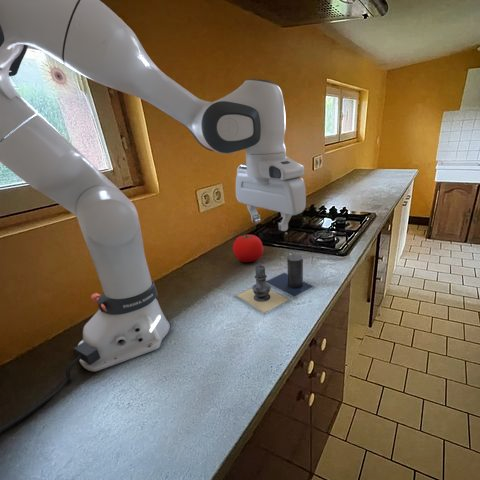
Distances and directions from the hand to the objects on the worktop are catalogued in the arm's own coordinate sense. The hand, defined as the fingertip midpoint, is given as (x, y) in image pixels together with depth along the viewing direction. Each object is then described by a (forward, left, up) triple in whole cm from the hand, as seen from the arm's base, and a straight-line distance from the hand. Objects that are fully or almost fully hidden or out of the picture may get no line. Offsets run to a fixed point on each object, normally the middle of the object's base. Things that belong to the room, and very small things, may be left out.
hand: (269, 226), depth 73 cm
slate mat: (+16, +10, -27) cm, 33 cm away
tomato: (+19, +36, -27) cm, 49 cm away
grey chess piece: (+4, +10, -27) cm, 29 cm away
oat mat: (+4, +10, -27) cm, 29 cm away
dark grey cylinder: (+17, +8, -27) cm, 33 cm away
